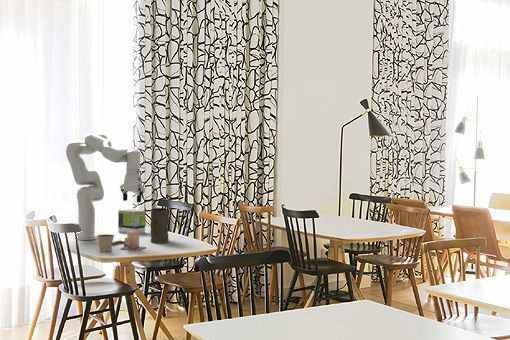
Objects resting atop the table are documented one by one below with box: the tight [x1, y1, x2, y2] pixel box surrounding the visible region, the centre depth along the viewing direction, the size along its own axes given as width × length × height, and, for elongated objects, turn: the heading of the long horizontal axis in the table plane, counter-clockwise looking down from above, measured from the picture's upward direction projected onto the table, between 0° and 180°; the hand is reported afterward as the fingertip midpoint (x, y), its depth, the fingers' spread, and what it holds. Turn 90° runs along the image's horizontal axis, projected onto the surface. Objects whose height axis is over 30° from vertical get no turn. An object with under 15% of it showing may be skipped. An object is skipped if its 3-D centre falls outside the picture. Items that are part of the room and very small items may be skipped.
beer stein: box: [150, 207, 170, 244], centre depth 380 cm, size 15×11×20 cm
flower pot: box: [96, 233, 115, 253], centre depth 346 cm, size 9×9×9 cm
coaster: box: [120, 245, 147, 252], centre depth 355 cm, size 10×10×1 cm
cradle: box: [112, 240, 127, 248], centre depth 366 cm, size 11×10×2 cm
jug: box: [124, 231, 140, 249], centre depth 353 cm, size 10×6×9 cm, turn 158°
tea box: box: [117, 208, 146, 235], centre depth 413 cm, size 15×10×15 cm, turn 58°
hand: (131, 201), depth 367 cm, fingers open, 9 cm apart
